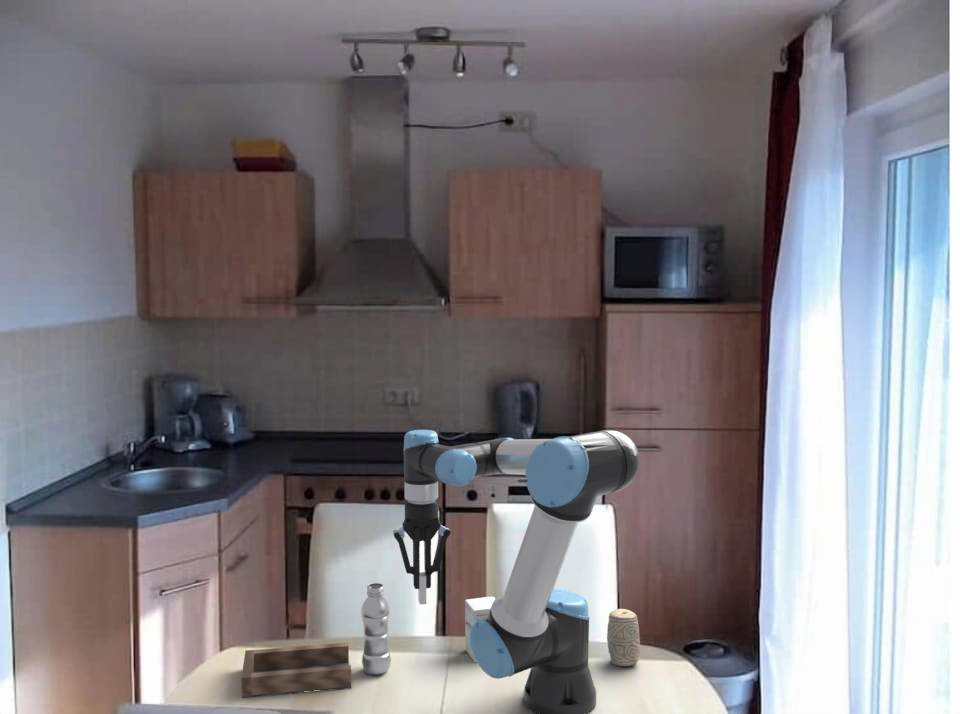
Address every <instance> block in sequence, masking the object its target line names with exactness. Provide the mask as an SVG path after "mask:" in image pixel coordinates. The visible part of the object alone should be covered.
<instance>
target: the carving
mask: <svg viewBox="0 0 960 714" xmlns="http://www.w3.org/2000/svg"><path fill="white" fill-rule="evenodd" d="M606 633H607V634H606V641H607V649H608V651H607V652H608V653H609V657H610V661H611V663H612V664H613V665H616V666H620V667H628V666H629V667H630V666H633V665H635V664H637V663H638V661H639V659H640V655H641V641H640V639H641V638H640V627H639V621H638V616H637V614H636V613H635V612H634V611H631V610H629V609H625V608H617V609H615V610H612V611H611V612H609V614H608V622H607V632H606Z"/></svg>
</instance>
